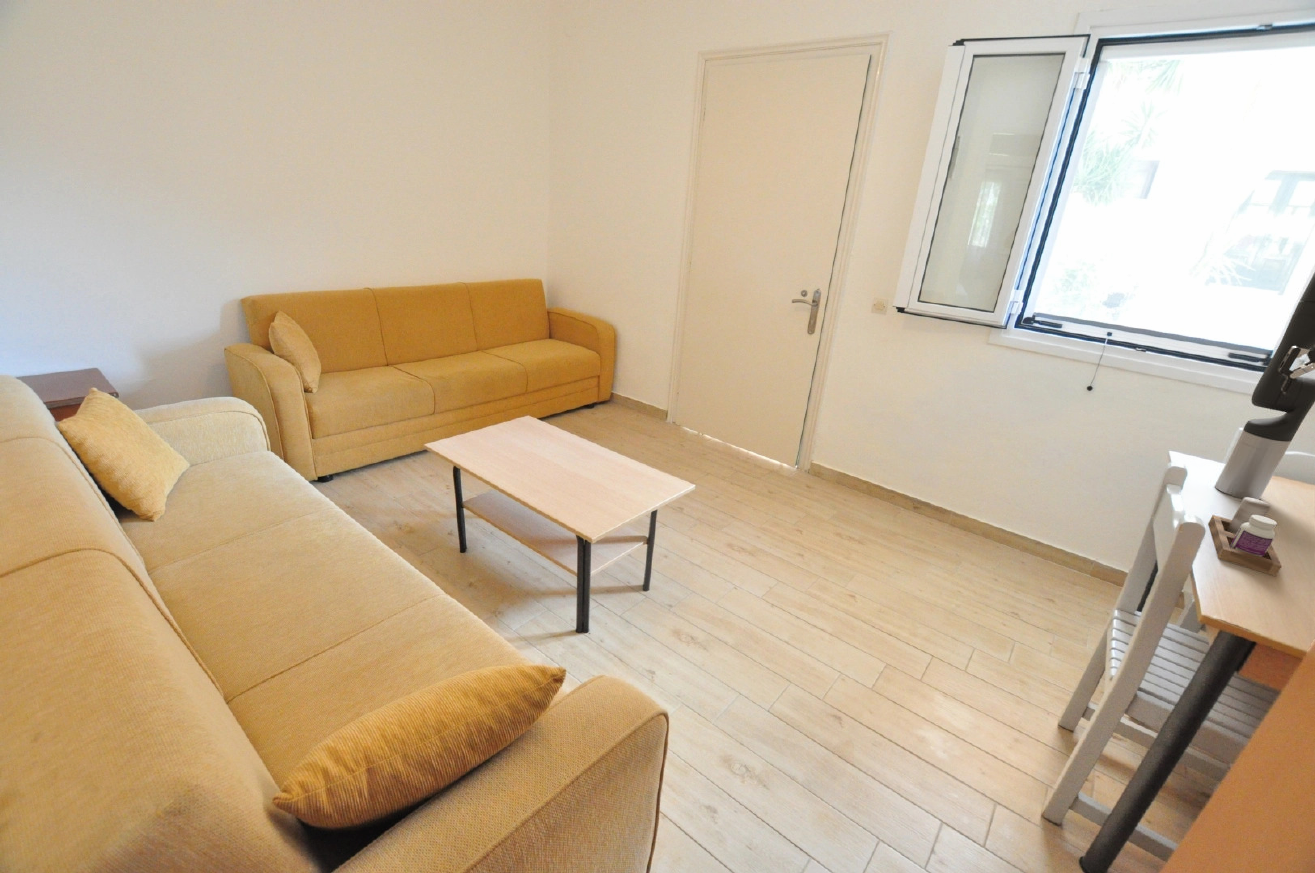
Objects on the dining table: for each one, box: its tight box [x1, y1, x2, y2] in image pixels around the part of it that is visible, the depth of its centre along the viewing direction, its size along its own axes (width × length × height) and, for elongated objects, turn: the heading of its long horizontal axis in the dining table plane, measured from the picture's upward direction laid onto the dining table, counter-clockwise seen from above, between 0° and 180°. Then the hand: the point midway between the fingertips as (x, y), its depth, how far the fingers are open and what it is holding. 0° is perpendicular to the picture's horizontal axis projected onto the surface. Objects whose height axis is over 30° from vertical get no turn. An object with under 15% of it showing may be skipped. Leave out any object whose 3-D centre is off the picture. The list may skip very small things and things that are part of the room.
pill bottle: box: [1230, 515, 1278, 557], centre depth 122 cm, size 5×5×10 cm
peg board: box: [1207, 497, 1283, 577], centre depth 125 cm, size 20×9×10 cm, turn 142°
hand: (1313, 399), depth 123 cm, fingers open, 8 cm apart
